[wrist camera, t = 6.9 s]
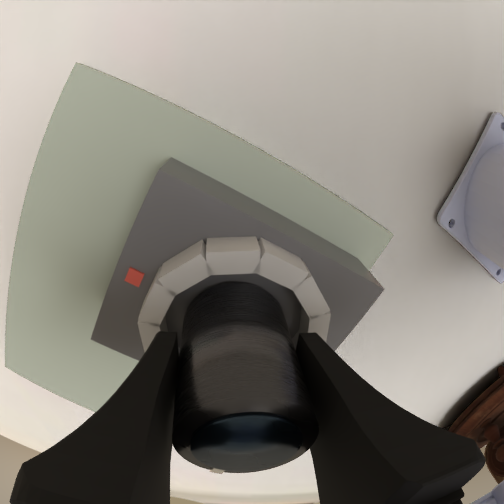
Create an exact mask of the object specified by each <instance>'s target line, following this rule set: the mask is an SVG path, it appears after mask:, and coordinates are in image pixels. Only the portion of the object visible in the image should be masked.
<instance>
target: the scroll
mask: <svg viewBox="0 0 504 504" xmlns="http://www.w3.org/2000/svg"><path fill="white" fill-rule="evenodd" d="M498 373H499V376H500V378H499V379H498V380H497V381H496V382H494V383H493V384H492V385H491V386H490V387H489V388H487V389H486V390H485V391H484V392H483V393H482V394H481V395H480V396H479V397H478V398H477V399H476V400H475V401H474V402H473V403H472V404H470V406H469V407H468V408H467V409H466V410H465V411H464V412H463V413H462V414H461V415H460V416H459V417H458V418H457V420H456V421H455V422H454V423H453V424H452V426H451V427H450V428H449V430H447V431H449V432H452V433H455V434H458V435H461V436H464V437H467V438H470V439H473V440H475V442H476V443H477V445H478V447H479V448H482V447H483V446H485V445H486V448H485V453H484V455H485V459H486V464H487V467H488V469H489V471H490V472H491V474H492V476H493V477H494V478H495V480H496V482H497V483H498V484H500V483H501V482H502V481H503V480H504V367H503V366H499V367H498ZM444 430H446V429H444Z"/></svg>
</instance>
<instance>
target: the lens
mask: <svg viewBox="0 0 504 504" xmlns="http://www.w3.org/2000/svg"><path fill="white" fill-rule="evenodd" d="M318 434H319V424H318V421H317V417H316V414H315V411H314V408H313V405H312V401H311V398H310V395H309V392H308V389H307V385H306V382H305V379H304V376H303V373H302V370H301V366H300V363H299V360H298V357H297V354H296V351H295V347H294V344H293V341H292V338H291V335H290V332H289V329H288V326H287V322H286V319H285V316H284V313H283V310H282V308H281V306H280V304H279V302H278V301H277V300H276V299H275V298H274V297H273V296H272V295H271V294H270V293H269V292H267V291H266V290H264V289H262V288H260V287H257V286H255V285H251V284H247V283H224V284H220V285H216V286H213V287H211V288H209V289H207V290H205V291H203V292H202V293H200V294H199V295H198V296H196V297H195V298H194V299H193V301H192V302H191V303H190V304H189V306H188V307H187V310H186V312H185V315H184V319H183V327H182V336H181V344H180V353H179V363H178V372H177V382H176V393H175V404H174V416H173V429H172V443H173V446H174V448H175V450H176V451H177V452H178V453H179V454H180V455H181V456H182V457H183V458H184V459H186V460H187V461H189V462H191V463H193V464H195V465H197V466H199V467H202V468H206V469H209V470H210V472H214V473H219V474H222V473H223V472H228V473H248V472H256V471H262V470H267V469H271V468H275V467H278V466H281V465H283V464H286V463H288V462H290V461H292V460H294V459H296V458H298V457H299V456H301V455H302V454H303V453H305V452H306V451H307V450H308V449H309V448H310V447H311V446H312V445H313V444H314V442H315V441H316V439H317V437H318Z"/></svg>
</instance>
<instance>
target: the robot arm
mask: <svg viewBox="0 0 504 504" xmlns="http://www.w3.org/2000/svg"><path fill="white" fill-rule="evenodd" d="M450 220H451V222H450V224H449V225H448V223H449V221H450ZM437 222H438V224H439V225H440V226H441V227H443V228H444V229H445V230H446V231H447V232H448V233H449V234H450V235H451V236H452V237H453V238H454V239H456V240H457V241H458V242H459V243H460V244H461V245H462V246H463V247H464V248H465V249H466V250H467V251H468V252H469V253H470V254H471V255H472V256H473V257H474V258H475V259H476V260H477V261H478V262H479V263H480V264H481V265H482V266H483V267H484V268H485V269H486V270H487V271H488V272H489V273H490V274H491V275H492V276H493V277H494V278H495V279H496V281H498V282H499V283H503V282H504V117H503V116H502V115H501V114H500V113H498V112H494V113H492V115H491V117H490V119H489V121H488V123H487V125H486V127H485V129H484V131H483V133H482V135H481V138H480V140H479V142H478V143H477V145H476V147H475V149H474V151H473V153H472V155H471V157H470V159H469V161H468V163H467V164H466V166H465V168H464V170H463V172H462V174H461V175H460V177H459V179H458V181H457V182H456V184H455V186H454V188H453V189H452V191H451V193H450V195H449V196H448V198H447V200H446V201H445V203H444V205H443V206H442V208H441V210H440V211H439V213H438V215H437ZM296 354H297V357H298V360H299V363H300V366H301V370H302V373H303V376H304V379H305V382H306V385H307V389H308V392H309V395H310V398H311V401H312V405H313V408H314V411H315V414H316V417H317V421H318V424H319V434H318V437H317V439H316V441H315V442H314V444H313V445H312V446H311V447H310V451H311V455H312V458H313V464H314V469H315V474H316V480H317V486H318V493H319V499H320V504H462V502H461V500H460V499H461V498H463V497H464V492H463V490H462V486H464V485H465V484H466V483H467V482H468V481H469V480H471V479H472V478H473V477H474V476H475V475H476V474H477V473H478V472H479V471H480V470H481V469H482V467H483V466H484V464H485V461H486V459H485V457H484V455H483V453H482V452H481V450H480V448H479V447H478V445H477V443H476V442H475V440H473V439H470V438H467V437H464V436H461V435H458V434H455V433H452V432H449V431H447V430H444V429H442V428H440V427H437V426H435V425H433V424H431V423H429V422H427V421H424V420H422V419H421V418H419V417H417V416H415V415H413V414H412V413H410V412H408V411H406V410H405V409H403V408H401V407H400V406H398V405H397V404H395V403H394V402H392V401H391V400H389V399H388V398H387V397H385V396H384V395H382V394H381V393H380V392H378V391H377V390H376V389H375V388H373V387H372V386H371V385H370V384H369V383H367V382H366V381H365V380H364V379H363V378H361V377H360V376H359V375H358V374H357V373H356V372H355V371H354V370H353V369H352V368H351V367H350V366H349V365H347V364H346V363H345V362H344V361H343V360H342V359H341V358H340V357H339V356H338V355H337V354H336V353H335V351H334V350H333V349H332V348H331V347H330V346H329V345H328V344H327V343H326V342H325V341H324V340H323V339H322V338H321V337H320V336H319V335H318V334H317V333H316V332H314V333H299V337H298V341H297V346H296ZM178 363H179V352H178V338H177V332H165V331H159V332H158V333H156V335H155V337H154V339H153V340H152V342H151V344H150V345H149V347H148V349H147V350H146V352H145V353H144V355H143V356H142V358H141V359H140V361H139V362H138V363H137V365H136V366H135V368H134V369H133V370H132V372H131V373H130V374H129V376H128V377H127V378H126V379H125V381H124V382H123V383H122V384H121V386H120V387H119V388H118V389H117V390H116V392H115V393H114V394H113V395H112V396H111V397H110V398H109V399H108V400H107V401H106V403H105V404H104V405H103V406H102V407H101V408H100V409H99V410H98V411H97V412H95V413H94V414H93V415H92V416H91V417H90V418H89V419H88V420H87V421H86V422H84V423H83V424H82V425H81V426H80V427H78V428H77V429H76V430H75V431H73V432H72V433H71V434H69V435H68V436H66V437H65V438H64V439H62V440H61V441H60V442H58V443H57V444H55V445H54V446H52V447H51V448H49V449H48V450H46V451H44V452H42V453H41V454H39V455H37V456H35V457H34V458H32V459H30V460H28V461H26V462H24V463H23V464H22V466H21V469H20V470H19V472H18V475H17V478H16V481H15V484H14V488H13V491H12V495H11V498H10V503H11V504H170V460H171V450H172V444H173V443H172V429H173V416H174V404H175V393H176V382H177V372H178ZM471 504H504V480H503V481H502V482H501V483H500V484H498V485H497V486H496V487H495V488H494V489H493V490H492V491H491V492H489V493H488V494H486V495H485V496H483V497H481V498H480V499H478V500H476V501H474V502H472V503H471Z"/></svg>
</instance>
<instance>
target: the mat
mask: <svg viewBox="0 0 504 504" xmlns="http://www.w3.org/2000/svg"><path fill="white" fill-rule="evenodd" d="M171 157H172V158H174V159H176V160H178V161H180V162H182V163H184V164H186V165H188V166H190V167H192V168H194V169H196V170H198V171H200V172H202V173H204V174H206V175H207V176H209V177H211V178H213V179H215V180H217V181H219V182H221V183H223V184H225V185H227V186H229V187H231V188H232V189H234V190H236V191H238V192H240V193H242V194H244V195H246V196H247V197H249V198H251V199H253V200H255V201H257V202H259V203H261V204H262V205H264V206H266V207H268V208H270V209H272V210H273V211H275V212H277V213H279V214H281V215H282V216H284V217H286V218H288V219H290V220H292V221H293V222H295V223H297V224H299V225H300V226H302V227H304V228H306V229H308V230H309V231H311V232H313V233H315V234H316V235H318V236H320V237H322V238H323V239H325V240H327V241H329V242H330V243H332V244H334V245H336V246H337V247H339V248H341V249H342V250H344V251H346V252H348V253H349V254H351V255H353V256H354V257H356V258H358V259H359V260H360V261H361V262H362V264H363V265H364V266H365V267H366V268H367V269H368V271H369V270H370V268H371V267H372V266H373V264H374V263H375V261H376V260H377V259H378V257H379V256H380V254H381V253H382V251H383V250H384V249H385V247H386V246H387V244H388V243H389V241H390V240H391V238H392V237H393V234H392V233H391V232H389V231H388V230H387V229H385V228H384V227H382V226H381V225H379V224H378V223H377V222H375V221H374V220H372V219H371V218H369V217H368V216H366V215H365V214H363V213H362V212H360V211H359V210H357V209H356V208H354V207H353V206H351V205H350V204H348V203H347V202H345V201H344V200H342V199H341V198H339V197H338V196H336V195H335V194H333V193H332V192H330V191H328V190H327V189H325V188H324V187H322V186H321V185H319V184H317V183H316V182H314V181H312V180H311V179H309V178H308V177H306V176H304V175H303V174H301V173H299V172H298V171H296V170H294V169H293V168H291V167H289V166H288V165H286V164H284V163H283V162H281V161H279V160H278V159H276V158H274V157H272V156H271V155H269V154H267V153H266V152H264V151H262V150H260V149H259V148H257V147H255V146H253V145H251V144H250V143H248V142H246V141H244V140H242V139H241V138H239V137H237V136H235V135H233V134H231V133H229V132H228V131H226V130H224V129H222V128H220V127H218V126H216V125H214V124H212V123H210V122H209V121H207V120H205V119H203V118H201V117H199V116H197V115H195V114H193V113H191V112H189V111H187V110H185V109H183V108H181V107H179V106H177V105H175V104H172V103H170V102H168V101H166V100H164V99H162V98H160V97H158V96H155V95H153V94H151V93H149V92H147V91H145V90H142V89H140V88H138V87H136V86H133V85H131V84H129V83H127V82H124V81H122V80H120V79H117V78H115V77H112V76H110V75H108V74H105V73H103V72H100V71H98V70H95V69H93V68H90V67H88V66H85V65H83V64H80V63H77V62H76V64H75V66H74V67H73V70H72V72H71V74H70V76H69V78H68V80H67V82H66V84H65V86H64V88H63V91H62V93H61V95H60V97H59V100H58V102H57V104H56V107H55V109H54V112H53V114H52V117H51V119H50V122H49V124H48V127H47V129H46V132H45V135H44V138H43V140H42V143H41V146H40V149H39V152H38V155H37V158H36V161H35V164H34V168H33V171H32V174H31V178H30V181H29V185H28V189H27V192H26V196H25V200H24V204H23V208H22V213H21V217H20V222H19V226H18V231H17V236H16V242H15V247H14V253H13V259H12V266H11V273H10V281H9V290H8V300H7V313H6V331H5V367H7V368H8V369H10V370H12V371H13V372H15V373H17V374H19V375H20V376H22V377H24V378H26V379H28V380H29V381H31V382H33V383H35V384H37V385H39V386H41V387H43V388H44V389H46V390H48V391H50V392H52V393H54V394H56V395H58V396H61V397H63V398H65V399H67V400H69V401H71V402H73V403H76V404H78V405H80V406H82V407H85V408H87V409H89V410H92V411H94V412H97V411H98V410H99V409H100V408H101V407H102V406H103V405H104V404H105V403H106V401H107V400H108V399H109V398H110V397H111V396H112V395H113V394H114V393H115V392H116V390H117V389H118V388H119V387H120V386H121V384H122V383H123V382H124V381H125V379H126V378H127V377H128V376H129V374H130V373H131V372H132V370H133V369H134V368H135V366H136V365H137V363H138V362H139V361H138V360H136V359H133V358H131V357H129V356H126V355H124V354H122V353H119V352H117V351H115V350H112V349H110V348H108V347H106V346H104V345H101V344H99V343H97V342H95V341H93V340H91V336H92V333H93V330H94V327H95V324H96V321H97V318H98V315H99V312H100V309H101V306H102V303H103V300H104V297H105V295H106V292H107V289H108V286H109V284H110V281H111V278H112V276H113V273H114V270H115V268H116V265H117V263H118V260H119V258H120V255H121V253H122V250H123V248H124V245H125V243H126V240H127V238H128V236H129V233H130V231H131V228H132V226H133V224H134V222H135V219H136V217H137V215H138V212H139V210H140V208H141V206H142V204H143V201H144V199H145V197H146V195H147V193H148V191H149V189H150V186H151V184H152V182H153V180H154V178H155V176H156V174H157V172H158V170H159V169H160V168H161V167H162V166H163V165H164V164H165V163H166V162H167V161H168V160H169V159H170V158H171Z"/></svg>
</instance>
